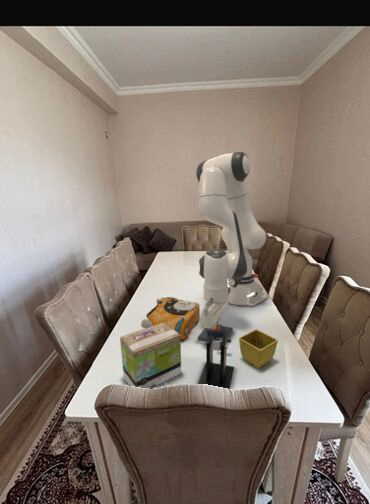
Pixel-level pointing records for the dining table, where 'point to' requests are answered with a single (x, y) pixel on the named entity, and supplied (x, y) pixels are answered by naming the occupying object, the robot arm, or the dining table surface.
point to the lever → (218, 343)
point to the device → (174, 315)
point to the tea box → (151, 356)
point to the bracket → (216, 367)
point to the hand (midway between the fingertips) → (215, 327)
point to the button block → (215, 333)
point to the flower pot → (257, 347)
